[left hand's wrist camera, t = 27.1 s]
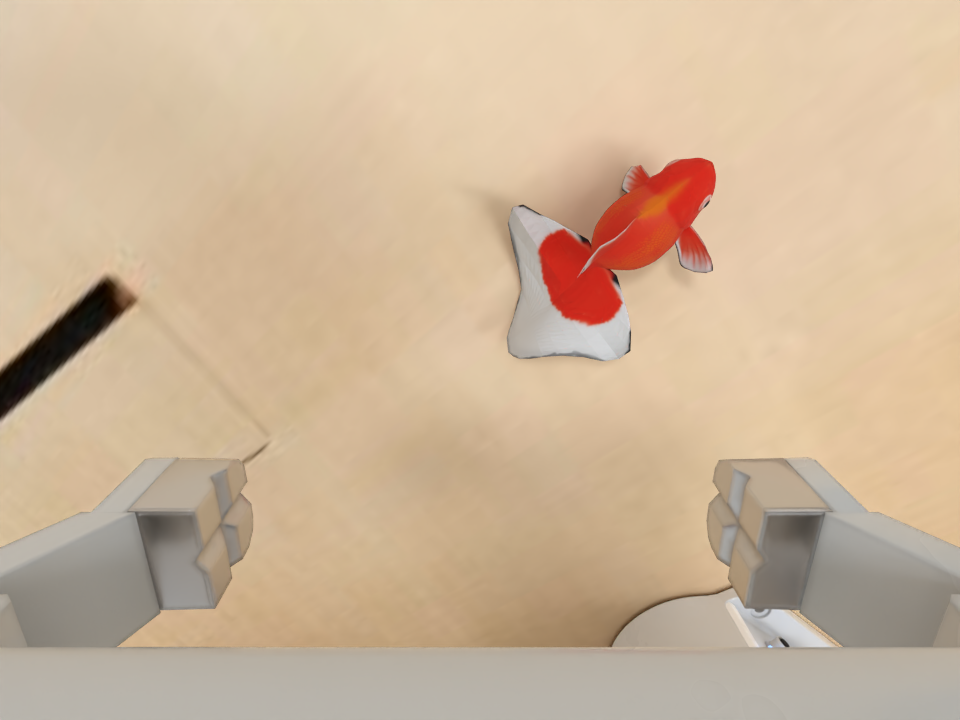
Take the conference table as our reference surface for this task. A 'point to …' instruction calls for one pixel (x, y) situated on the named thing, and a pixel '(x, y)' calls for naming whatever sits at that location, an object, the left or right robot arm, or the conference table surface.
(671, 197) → the fish
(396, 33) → the conference table surface
